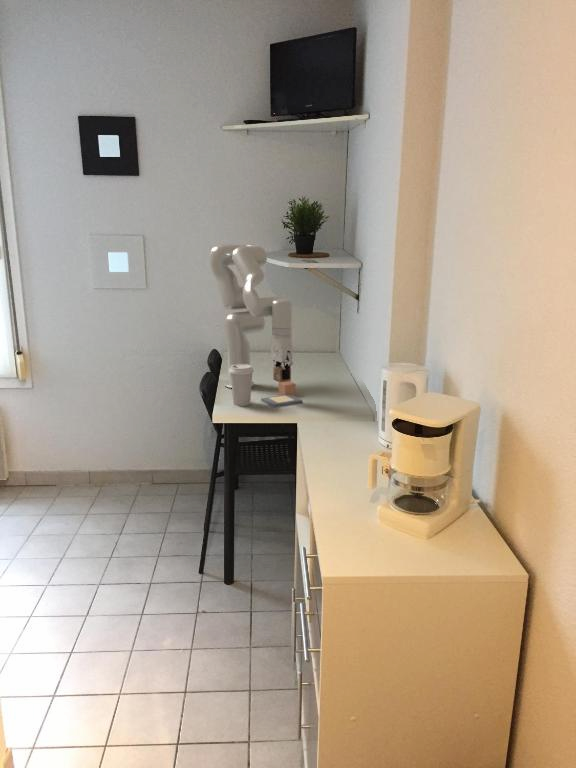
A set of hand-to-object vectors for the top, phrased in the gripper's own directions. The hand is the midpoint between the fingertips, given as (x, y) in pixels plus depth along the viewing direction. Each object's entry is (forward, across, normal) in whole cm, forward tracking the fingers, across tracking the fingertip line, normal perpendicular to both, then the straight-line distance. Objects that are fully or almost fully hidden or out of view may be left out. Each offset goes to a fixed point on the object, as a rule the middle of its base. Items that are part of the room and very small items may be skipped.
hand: (282, 377), depth 255 cm
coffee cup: (+10, -6, -15) cm, 19 cm away
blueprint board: (+10, 0, 0) cm, 10 cm away
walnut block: (+1, 0, 0) cm, 1 cm away
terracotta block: (+10, -8, +7) cm, 15 cm away
